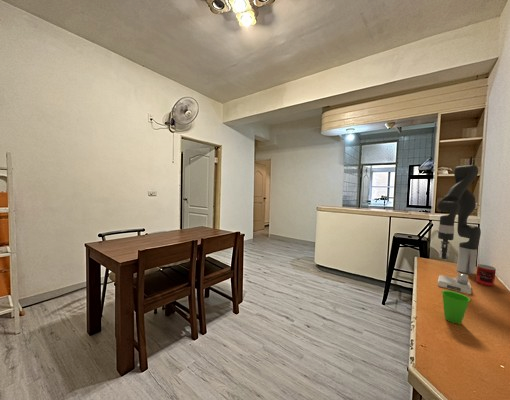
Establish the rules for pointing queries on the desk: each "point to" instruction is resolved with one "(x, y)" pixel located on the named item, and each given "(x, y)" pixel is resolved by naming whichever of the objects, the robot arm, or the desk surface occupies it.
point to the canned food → (485, 275)
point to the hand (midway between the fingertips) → (443, 257)
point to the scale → (453, 284)
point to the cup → (454, 306)
